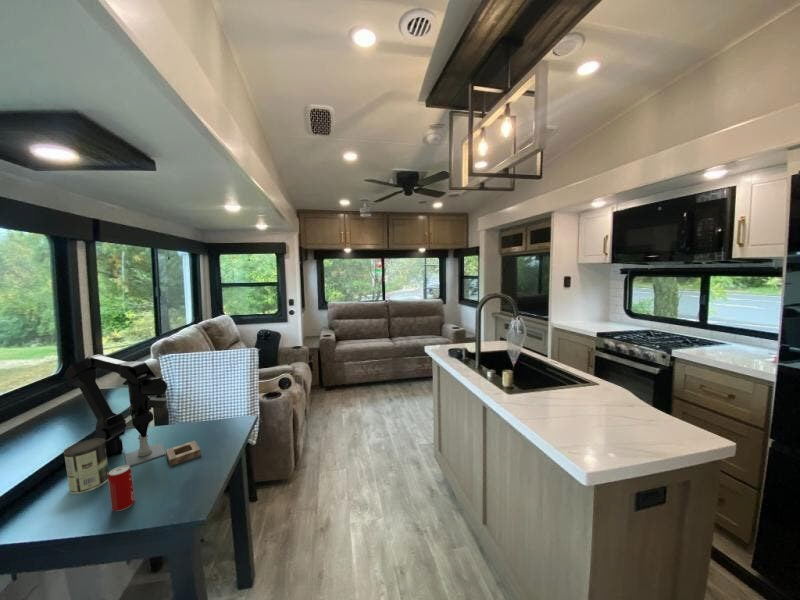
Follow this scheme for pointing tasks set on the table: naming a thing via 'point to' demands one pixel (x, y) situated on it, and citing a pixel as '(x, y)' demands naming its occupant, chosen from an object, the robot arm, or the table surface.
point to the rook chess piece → (144, 446)
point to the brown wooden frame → (183, 453)
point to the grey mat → (134, 459)
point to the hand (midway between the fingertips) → (143, 433)
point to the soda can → (121, 488)
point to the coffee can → (86, 465)
